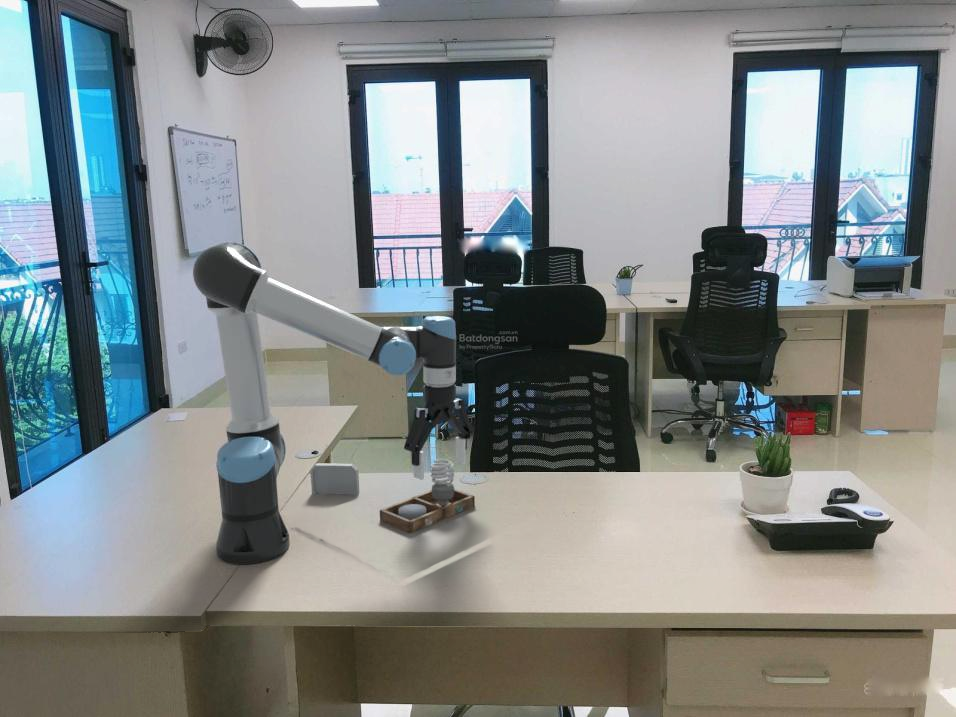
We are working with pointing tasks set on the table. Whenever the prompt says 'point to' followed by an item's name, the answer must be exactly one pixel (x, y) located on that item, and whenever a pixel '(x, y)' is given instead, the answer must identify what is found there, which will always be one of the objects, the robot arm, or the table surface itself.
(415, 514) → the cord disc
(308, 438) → the table surface
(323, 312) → the robot arm
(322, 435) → the table surface
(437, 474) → the light bulb
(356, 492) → the grey plastic panel
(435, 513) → the organizer
